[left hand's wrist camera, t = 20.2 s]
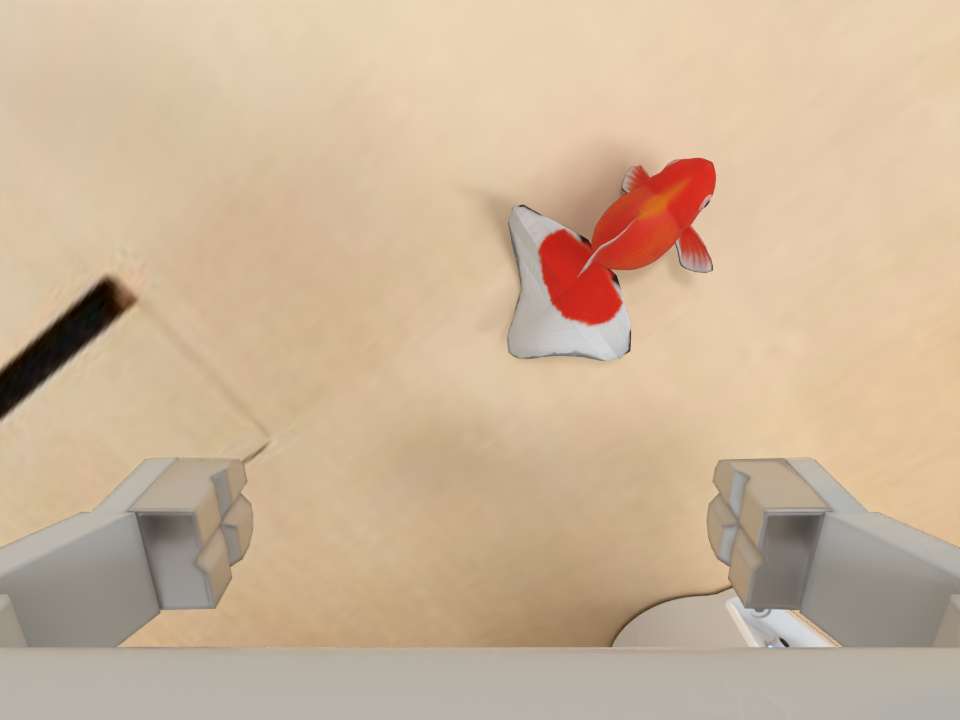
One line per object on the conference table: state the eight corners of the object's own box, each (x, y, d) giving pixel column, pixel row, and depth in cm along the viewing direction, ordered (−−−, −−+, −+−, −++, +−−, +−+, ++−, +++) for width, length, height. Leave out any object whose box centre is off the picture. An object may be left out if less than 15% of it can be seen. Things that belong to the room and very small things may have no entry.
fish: (780, 295, 35) (756, 326, 27) (559, 370, 44) (491, 411, 36) (713, 126, 35) (668, 106, 27) (505, 237, 44) (424, 247, 36)
